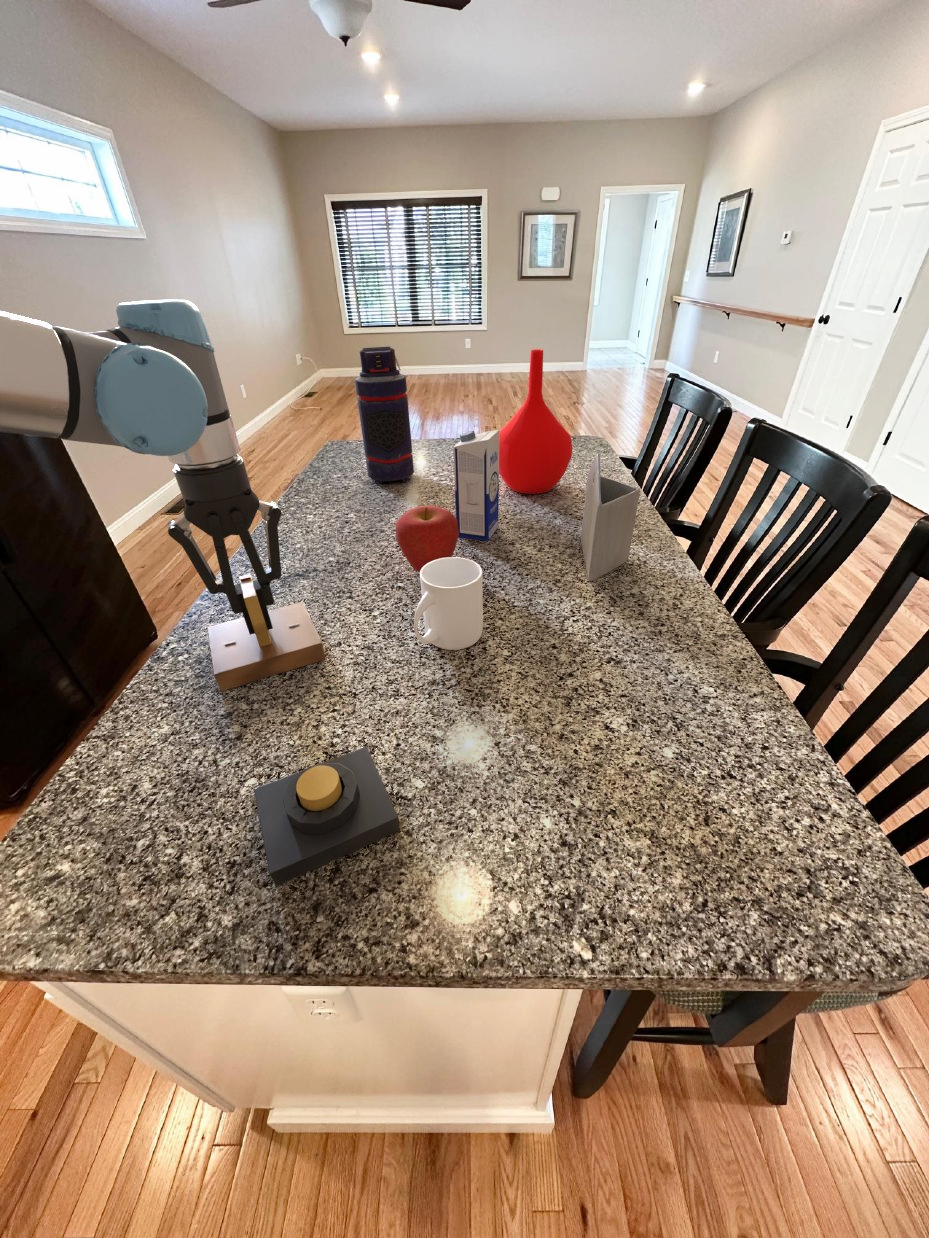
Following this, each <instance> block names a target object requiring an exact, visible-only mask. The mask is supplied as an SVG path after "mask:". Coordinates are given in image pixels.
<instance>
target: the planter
mask: <svg viewBox="0 0 929 1238" xmlns="http://www.w3.org/2000/svg"><path fill="white" fill-rule="evenodd" d="M640 493H641V488H639V487H637V486H634V485H632V484H628V483H626V482H623V481H619V480H616V479H613V478H611V477H607V476H605V475H602V474H601V455H600V453H599V452H598V453H596V455H595V457H594V459H593V461H592V463H591V465H590V468H589V470H588V472H587V479H586V487H585V495H584V505H583V511H582V512H583V514H582V522H581V531H580V539H579V540H580V544H581V549H582V554H583V559H584V565H585V570H586V575H587V580H588V581H589V582H593V581H595V580H597V579H599V578H601V577H603V576H604V575H606V574H608V573H610V572H612V571H614V570H615V569H617V568H619V567H620V566H622V565H623V564H625V563H626V562H627V561H629V557H630V552H631V546H632V540H633V535H634V529H635V524H636V518H637V511H638V507H639V506H638V505H639V501H640Z"/></svg>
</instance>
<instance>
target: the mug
mask: <svg viewBox="0 0 929 1238" xmlns="http://www.w3.org/2000/svg"><path fill="white" fill-rule="evenodd" d="M419 580H420V581H419V582H420V592H421V599H420V600H419V601H418V604H417V606H416V609H415V612H414V616H413V630H414V634H415V637H416V640H417V641H418V642H419V643H420V644H424V645H428V644H432V645H433V646H435V647H437V648H439V649H442V650H447V651H460V650H464V649H467V648H470V647H471V646H473V645H474V644H476V643H477V642H478V641H479V640H480V638H482V635H483V631H484V630H483V629H484V611H483V607H484V605H483V604H484V603H483V602H484V601H483V600H484V599H483V598H484V597H483V595H484V593H483V569H482V567H481V565H480V564H479V563H478V562H476V561H475V560H472V559H469V558H465V557H459V556H458V557H457V556H451V557H447V558H440V559H437V560H434V561H431V562H429V563H427V564H426V565H425V566H424V567H423V568H422V569H421V571H420V572H419ZM422 615H423V624H424V625H423V626H424V632H425V634H424V635H421V634H420V633H419V629H418V627H419V622H420V619H421V618H422Z"/></svg>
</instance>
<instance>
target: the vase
mask: <svg viewBox="0 0 929 1238" xmlns="http://www.w3.org/2000/svg"><path fill="white" fill-rule="evenodd" d="M543 374H544V349H543V348H541V349H540V348H535V349H530V357H529V372H528V393H527V396H526V398H525V400H524V403H523V404H522V406H521V407H520V408H519V409H518V410H517V412H516V413H515V414H514V415H513V416H512V417H511V419H510V420H509V421H508V422H507V423H506V424H505V425H504V426H503V427H502V429H500V430H499V477H501V479H502V480H503V482H504V483H505V485H506V486H508V487H509V488H510V489H511V490H512V491H514V492H517V493H520V494H526V495H537V494H543V493H546V492H549V491H550V490H551V489H553V488H554V487H555V486H557V484H558V483H559V482H560V481H561V479H562V478H563V476H564V475H565V473H566V471H567V469H568V467H569V464H570V462H571V460H572V457H573V456H572V455H573V443H572V437H571V434H570V432H569V431H568V430H567V429H566V428H565V427H564V426H563V425H562V424H561V422H560V421H559V420H558V419H557V417H556V416H555V415H554V414H553V412H552V411H551V409H550V408H549V407H548V405H547V404H546V402H545V399H544V396H543V381H544V380H543V376H544V375H543Z"/></svg>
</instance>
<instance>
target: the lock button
mask: <svg viewBox="0 0 929 1238" xmlns="http://www.w3.org/2000/svg"><path fill="white" fill-rule="evenodd" d="M296 791H297V794H298V797H299V799H300V802H301V804H302V806H303V807H304V808H306V809H307V810H310V811H322V810H325V809H328V808H330V807H331V806H333V805H334V804H335V803H336V802H337V801H338V799H339V798H340V795H341V792H342V787H341V783H340V779H339V775H338V773H337V771H336V770H335V769H333V768H332V767H329V766H316V767H313V768H311V769H309V770H307V771H306V772H304V773H303V774H302V775H301V776H300V778H299V779H298V781H297V785H296Z"/></svg>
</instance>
